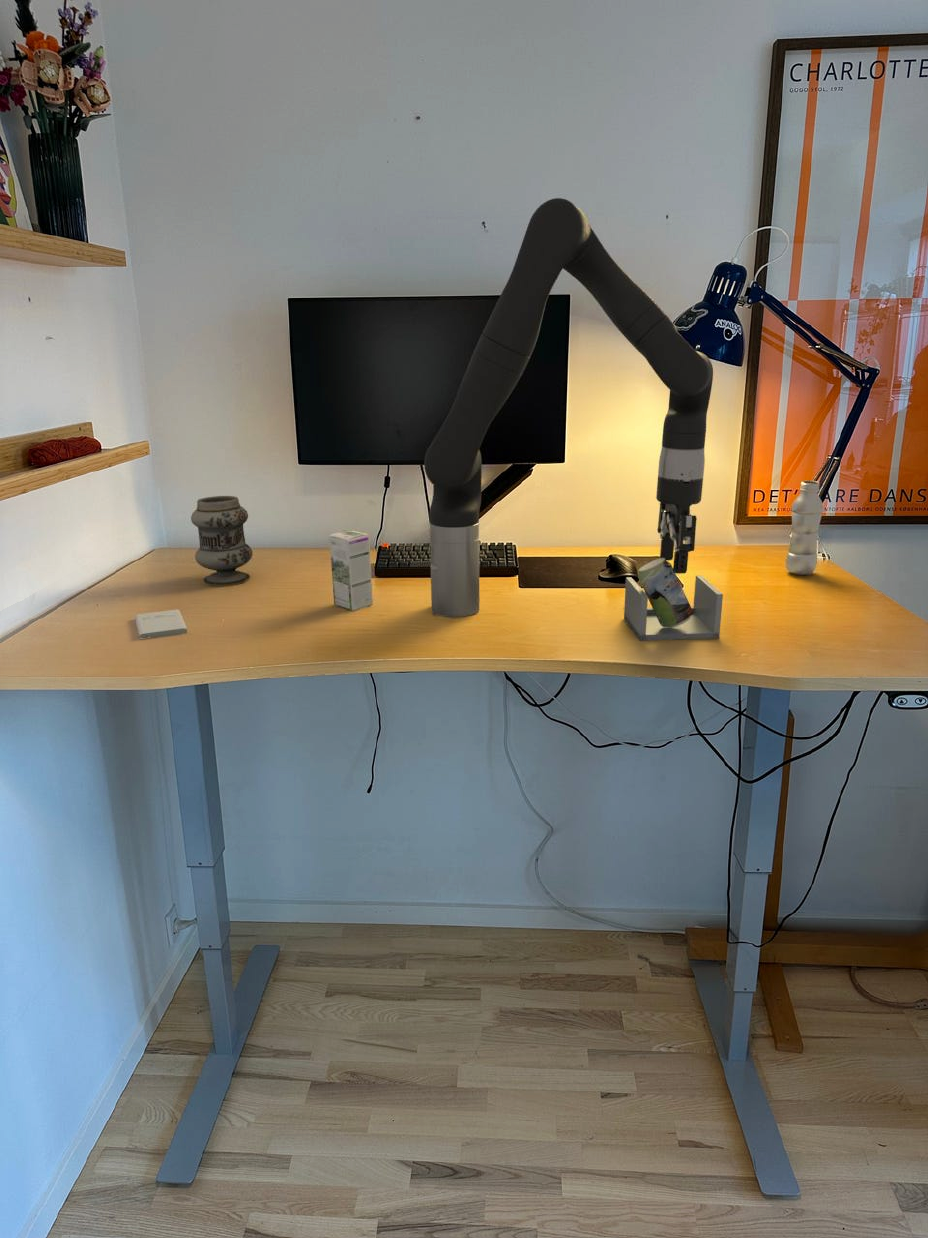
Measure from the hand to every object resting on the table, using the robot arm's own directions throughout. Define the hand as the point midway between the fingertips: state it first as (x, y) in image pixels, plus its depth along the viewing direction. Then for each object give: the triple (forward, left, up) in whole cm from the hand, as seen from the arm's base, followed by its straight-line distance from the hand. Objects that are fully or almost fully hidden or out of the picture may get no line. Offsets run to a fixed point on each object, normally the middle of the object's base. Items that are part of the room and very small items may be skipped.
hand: (672, 566), depth 153 cm
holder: (0, 0, -12) cm, 12 cm away
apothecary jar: (-87, +40, -12) cm, 96 cm away
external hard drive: (-93, +10, -12) cm, 94 cm away
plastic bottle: (+38, +33, -12) cm, 52 cm away
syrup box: (-58, +19, -12) cm, 62 cm away
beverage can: (0, -3, -10) cm, 10 cm away
